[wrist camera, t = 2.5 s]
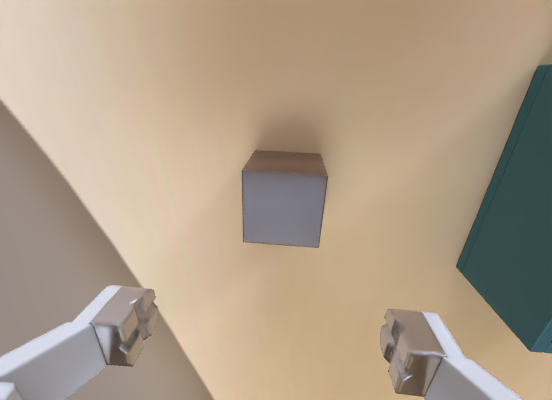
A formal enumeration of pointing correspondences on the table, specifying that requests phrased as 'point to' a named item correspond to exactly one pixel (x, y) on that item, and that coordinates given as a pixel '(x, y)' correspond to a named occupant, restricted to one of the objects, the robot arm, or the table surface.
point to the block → (283, 198)
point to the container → (519, 225)
